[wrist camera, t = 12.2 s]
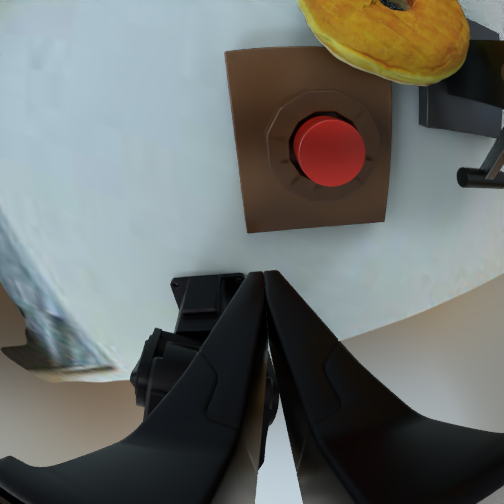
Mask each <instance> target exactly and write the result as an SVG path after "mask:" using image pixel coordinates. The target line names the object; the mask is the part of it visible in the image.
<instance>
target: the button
mask: <svg viewBox="0 0 504 504" xmlns="http://www.w3.org/2000/svg"><path fill="white" fill-rule="evenodd" d="M293 149H294V154H295V157H296V160H297V162H298V163H299V165H300V167H301V168H302V170H303V172H304V173H305V174H306V176H307V177H308V178H309V179H311V180H312V181H314V182H315V183H317V184H320V185H323V186H339V185H343V184H345V183H347V182H349V181H351V180H352V179H353V178H354V177H355V176H356V175H357V174H358V173H359V172H360V170H361V168H362V166H363V164H364V161H365V154H366V153H365V144H364V141H363V139H362V137H361V135H360V133H359V132H358V131H357V130H356V129H355V128H354V127H353V126H352V125H350V124H348V123H346V122H344V121H342V120H340V119H338V118H335V117H332V116H317V117H314V118H311V119H310V120H308V121H306V122H305V123H304V124H303V125H302V126H301V127H300V128H299V130H298V131H297V133H296V135H295V138H294V144H293Z"/></svg>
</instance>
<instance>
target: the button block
mask: <svg viewBox="0 0 504 504" xmlns="http://www.w3.org/2000/svg"><path fill="white" fill-rule="evenodd" d="M224 54H225V62H226V70H227V79H228V87H229V95H230V103H231V111H232V119H233V127H234V135H235V143H236V151H237V158H238V166H239V174H240V182H241V190H242V198H243V206H244V214H245V222H246V229H247V233H258V232H268V231H279V230H290V229H302V228H313V227H325V226H338V225H350V224H363V223H377V222H384V221H385V213H386V205H387V196H388V186H389V174H390V160H391V140H392V81H391V80H387V79H384V78H382V77H380V76H377V75H375V74H371V73H368V72H365V71H362V70H359V69H357V68H354V67H352V66H351V65H349V64H347V63H345V62H343V61H341V60H339V59H338V58H336V57H335V56H334V55H333V54H332V53H331V52H330V51H329V50H328V49H327V48H326V47H318V46H288V47H266V48H252V49H242V50H233V51H226V52H225V53H224ZM317 116H332V117H335V118H338V119H340V120H342V121H344V122H346V123H348V124H350V125H352V126H353V127H354V128H355V129H356V130H357V131H358V132H359V133H360V135H361V137H362V139H363V141H364V144H365V153H366V154H365V161H364V164H363V166H362V168H361V170H360V172H359V173H358V174H357V175H356V176H355V177H354V178H353V179H352V180H351V181H349V182H347V183H345V184H343V185H339V186H323V185H320V184H317V183H315V182H314V181H312V180H311V179H309V178H308V177H307V176H306V174H305V173H304V172H303V170H302V168H301V167H300V165H299V163H298V162H297V160H296V157H295V154H294V149H293V144H294V138H295V135H296V133H297V131H298V130H299V128H300V127H301V126H302V125H303V124H304V123H305V122H306V121H308V120H310V119H311V118H314V117H317Z"/></svg>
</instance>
